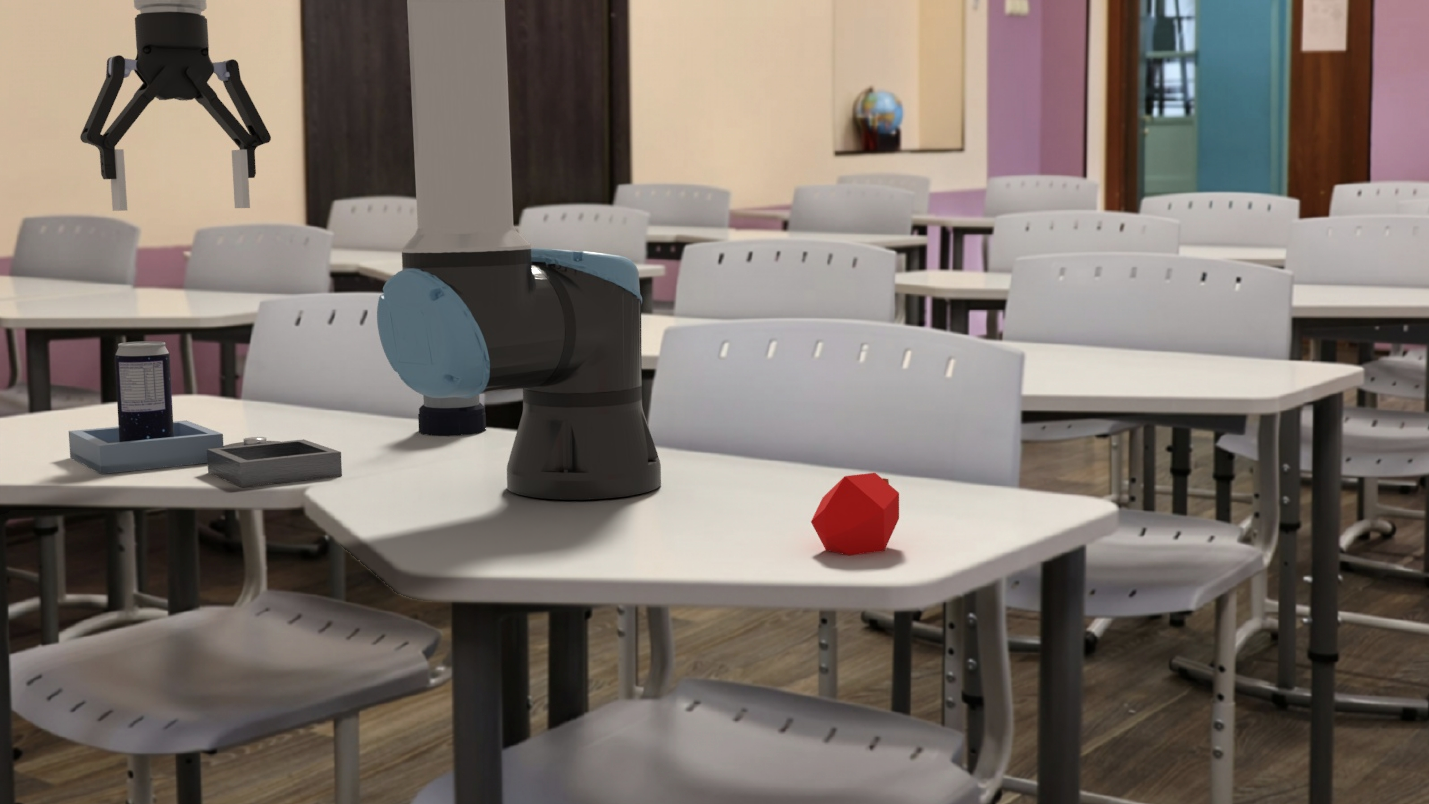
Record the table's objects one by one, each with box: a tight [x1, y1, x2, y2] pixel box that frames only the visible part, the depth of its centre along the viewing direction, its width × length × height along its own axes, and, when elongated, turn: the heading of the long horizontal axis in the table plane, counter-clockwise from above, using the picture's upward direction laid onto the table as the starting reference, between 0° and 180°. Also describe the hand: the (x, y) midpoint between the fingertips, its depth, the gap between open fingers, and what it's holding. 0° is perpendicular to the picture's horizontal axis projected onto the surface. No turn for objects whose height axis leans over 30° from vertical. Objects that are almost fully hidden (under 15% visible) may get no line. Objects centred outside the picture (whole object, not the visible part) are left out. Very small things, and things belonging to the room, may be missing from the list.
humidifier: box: [417, 394, 487, 437], centre depth 196 cm, size 8×8×25 cm
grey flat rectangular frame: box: [207, 436, 343, 488], centre depth 171 cm, size 17×10×3 cm, turn 35°
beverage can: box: [114, 340, 174, 442], centre depth 178 cm, size 6×6×12 cm
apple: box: [810, 472, 900, 556], centre depth 131 cm, size 7×7×8 cm
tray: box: [68, 420, 224, 475], centre depth 178 cm, size 13×13×3 cm
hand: (182, 209), depth 179 cm, fingers open, 13 cm apart
